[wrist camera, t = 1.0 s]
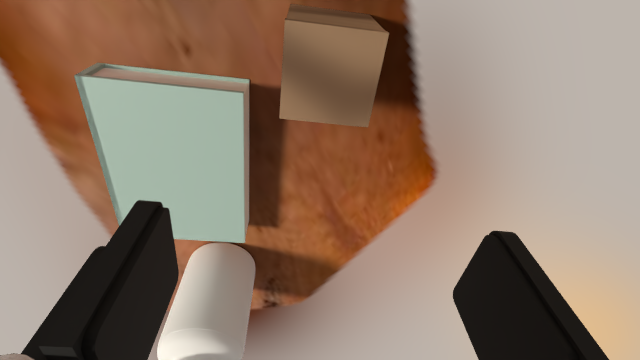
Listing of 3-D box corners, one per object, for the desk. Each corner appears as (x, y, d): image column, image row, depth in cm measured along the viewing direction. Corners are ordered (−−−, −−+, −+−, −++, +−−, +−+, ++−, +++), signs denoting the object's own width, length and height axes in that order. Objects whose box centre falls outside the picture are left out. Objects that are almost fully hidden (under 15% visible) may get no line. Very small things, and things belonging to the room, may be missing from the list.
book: (136, 212, 36) (122, 235, 33) (99, 61, 27) (73, 75, 24) (249, 220, 37) (244, 243, 34) (249, 78, 28) (243, 93, 25)
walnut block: (289, 3, 25) (284, 19, 19) (370, 13, 25) (389, 33, 19) (284, 83, 28) (279, 118, 22) (355, 91, 29) (367, 127, 23)
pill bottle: (268, 272, 42) (253, 408, 29) (214, 290, 43) (178, 426, 31) (234, 231, 37) (200, 369, 25) (176, 252, 39) (116, 392, 27)
